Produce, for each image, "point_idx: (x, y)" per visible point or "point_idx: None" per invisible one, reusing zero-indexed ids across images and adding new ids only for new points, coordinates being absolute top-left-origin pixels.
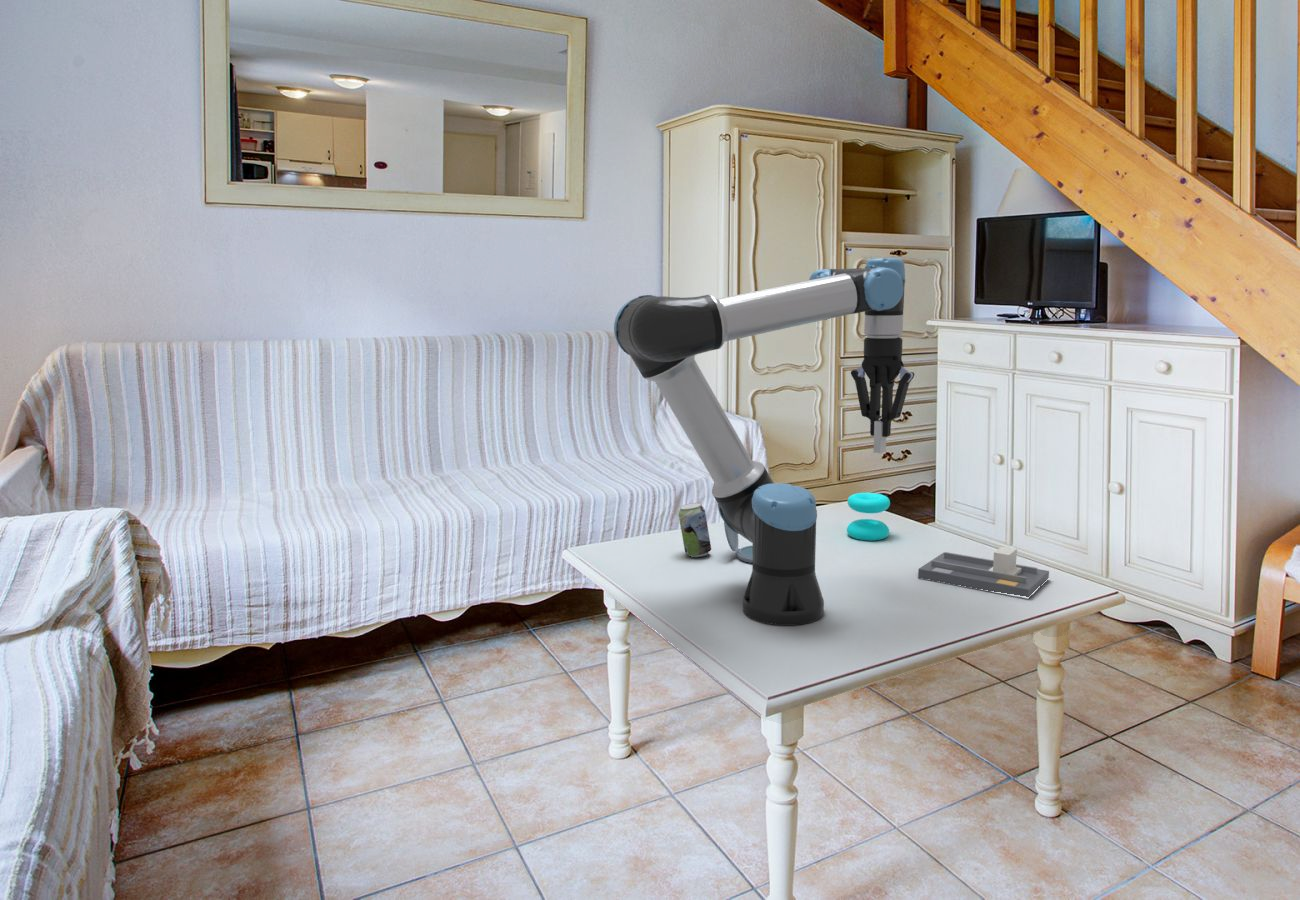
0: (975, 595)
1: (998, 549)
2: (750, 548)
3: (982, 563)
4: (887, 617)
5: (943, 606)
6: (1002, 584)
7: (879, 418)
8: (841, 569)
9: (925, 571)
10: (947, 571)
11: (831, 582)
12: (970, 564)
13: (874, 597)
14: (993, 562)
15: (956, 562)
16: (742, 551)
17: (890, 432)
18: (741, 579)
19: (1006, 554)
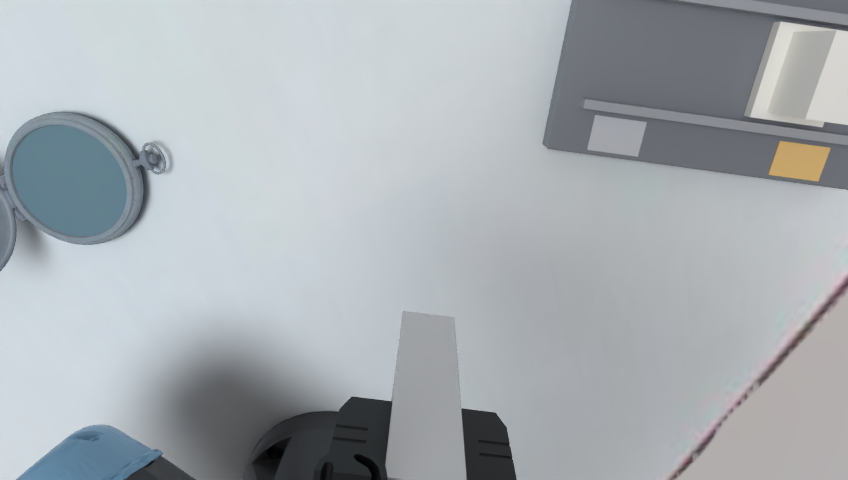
0: (702, 211)
1: (822, 75)
2: (24, 159)
3: (732, 10)
4: (531, 425)
5: (633, 318)
6: (785, 179)
7: (370, 469)
8: (328, 167)
9: (568, 150)
10: (631, 137)
11: (347, 279)
12: (692, 26)
13: (475, 331)
14: (784, 114)
15: (648, 25)
16: (25, 198)
17: (507, 434)
18: (149, 353)
19: (845, 122)
